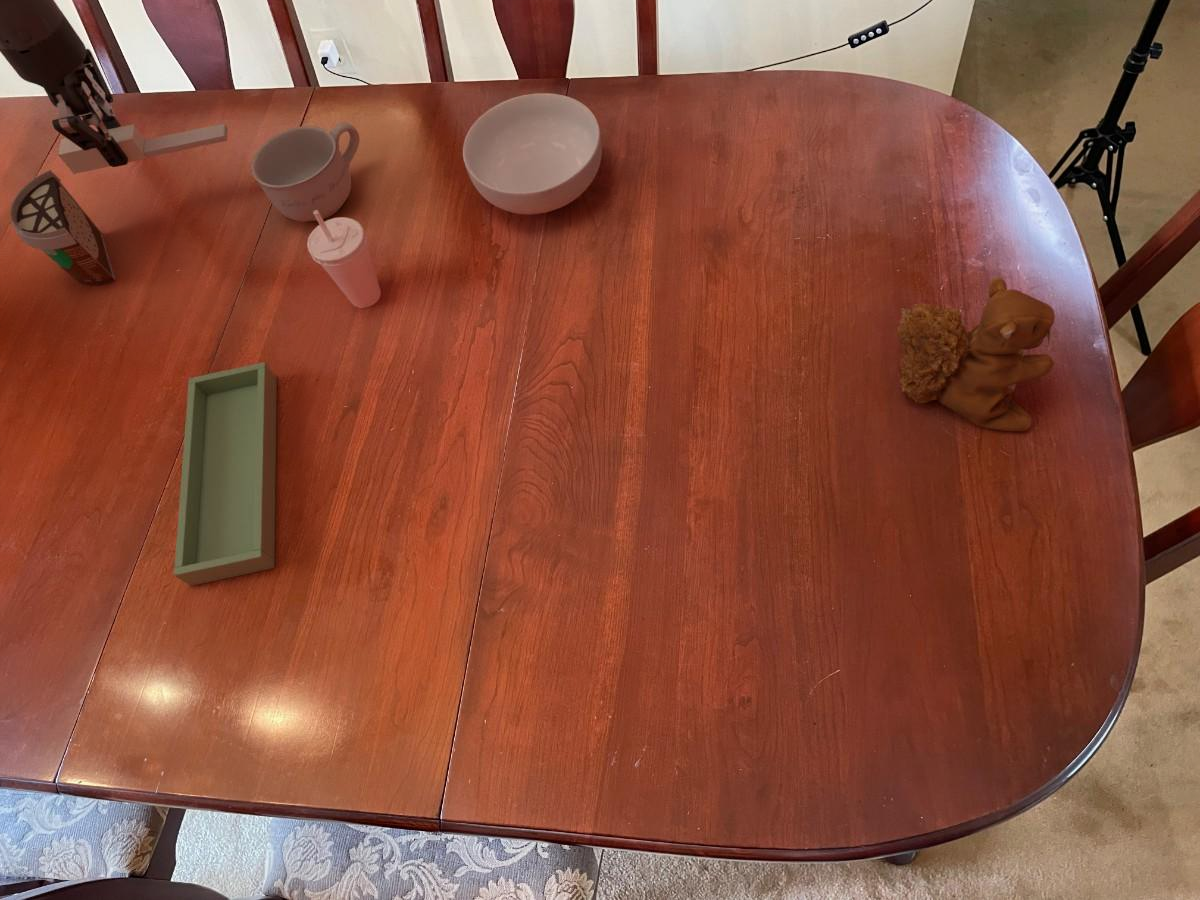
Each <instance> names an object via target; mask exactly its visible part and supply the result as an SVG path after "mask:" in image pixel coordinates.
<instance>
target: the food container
mask: <svg viewBox="0 0 1200 900" xmlns="http://www.w3.org/2000/svg"><path fill="white" fill-rule="evenodd" d="M11 203H12V204H11V207H10V211H9V212H10V220H11V224H12V226H13V228H14V230H15V231H16V232H15V233H17V235H18V237H19V238H20V239H21V241H22V242H23V243H24V244H25V245H26V246H29V247H31V248H34V249H37V250H41V251H42V252H43V253H44V254H45V255H46V256H48V257H49V258H50V259H51V260H52V261H53V262H54V263H55V264H57V265H58V266H59V267H60V268H61V269H62V270H63V271H65V272H66V273H67V274H68V275H69V276H70V277H71V278H73V280H75V281H76V282H77V283H79V284H82V285H85V286H102V285H106V284H109V283H112V282H115V281H116V278H115V274H114V270H113V267H112V263H111V260H110V256H109V253H108V249H107V245H106V241H105V238H104V235H103V232H102V231H101V230H100V229H99V228H98V226H97V225H96V224H95V223H94V221H93V220H92V219H91V218H90V217H89V215H88V214H87V213H86V211H84V209H83V208H82V207H81V206H80V204H79V203H78V202H77V201H76V199H75V197H73V195H71V193H70V192H69V190H68V189H67V188H66V187H65V185H64V184H63V183H62V182H61V178H60V177H58V176H57V174H55V172H53V171H52V170H51V169H48V170H47V171H44V172H43V173H41V174H39V175H38V176H36V177H34V178H33V179H31V180H30V181H29V182H28V183H26V184H25V185H24V186H23V188H21V189H20V191H18V193H17V194H16V195H15V197H14V199H13V201H12V202H11Z"/></svg>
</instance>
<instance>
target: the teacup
mask: <svg viewBox="0 0 1200 900" xmlns="http://www.w3.org/2000/svg"><path fill="white" fill-rule="evenodd" d="M345 132H347V133H348V134H349V141H348V144H347V146H346V149H345V150H344V152H343V153H342V152H341V151H340V137H341V135H342V134H344V133H345ZM359 145H360V134H359V131H358V130H357V127H355V126H354V125H352V124H351V123H349V122H347V121H346V122H345V121H341V122H338V123H336V124H335V125H334V126H333V127H332V128H331V130H330V132H329V131H328V130H326V128H325V129H324V128H322V127H320V126H319V127H318V126H314V125H303V126H297V127H292V128H288V129H286V130H283V131H281V132H278V133H277V134H275V135H273V136H272V137H270V138H269V139H268V140H266V141H265V142H264V143H263V144H262V145H261V146H260V147H259V148H258V149H257V151H255V154H254V155H253V158H252V160H251V164H250V169H251V174H252V177H253V179H254V180H255V181H256V182H257V184H259V186H260V187H261V189H262V190H263V192H264V194H265V195H266V196H267V198H268V200H269V202H271V204H272V205H273V207H274V208H275V209H276V210H277V211H278V212H279V213H280V214H281V215H283V216H285V217H286V218H288V219H290V220H293V221H297V222H318V221H317V219H316V217H315V215H314V213H313V212H314V211H315V210H318V211H319V213H320V215H321V217H322V219H323V220H324V219H327V218H329V217H331V216H332V215H334V214H336V213H337V212H338V211H339V210H340V209H341V208H342V206H343V205H344V203H345V202H346V200H347V199H348V197H349V195H350V192H351V188H352V177H351V173H350V170H349V169H350V165H351V162H352V160H353V158H354V157H355V155H356V153H357V151H358V149H359Z"/></svg>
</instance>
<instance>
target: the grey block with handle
mask: <svg viewBox="0 0 1200 900" xmlns="http://www.w3.org/2000/svg"><path fill="white" fill-rule="evenodd" d="M121 126H122V127H117V128H112V129H108V131H109V133H110V135H111V136H112V137H113V138H114V139H115V141H116V142H117V144H118V145H119V146H120V148H121V149H122V151H123V152H124V153H125V155H126V156H127V157H128V163H133V162H138V161H142V160H143V161H144V160H146V159H147V158H150V157H156V156H160V155H165V154H171V153H174V152H180V151H183V150H184V151H185V150H189V149H193V148H198V147H204V146H207V145H208V146H209V145H213V144H219V143H222V142H226V141H227V142H228V131H229V130H228V126H227V124H226V123H225V122H222V123H218V124H213V125H209V126H203V127H199V128H194V129H190V130H184V131H179V132H176V133H170V134H166V135H161V136H156V137H152V138H147V139H146V138H145V137H144V135H143V134H142V132H141V131H140V130H139V128H138V127H137V125H136V124H135V123H132V124H131V123H130V124H126V125H121ZM57 156H58V157H59V158H60V159H61V161H62V162H63V163H64V164H65V165H66V167H67V168H68V169H69V170H70V171H71V173H72V174H73V175H77V174H81V173H85V172H91V171H95V170H99V169H100V170H101V169H105V168H109V167H111V166H110V165H109V164H108V163H107V161H106V160H105V159H104V157H103V156H102V155H101V153H100V152H99V151H98V150H97V148H93V149H89V150H86V151H84V150H83V149H81V148H80V147H79V146H77V145H76V144H74V143H73V142H72V141H70V140H69V139H67V138H66V137H64V138H61V139H60V142H59V147H58V153H57ZM128 163H127V164H128Z"/></svg>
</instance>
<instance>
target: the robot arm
mask: <svg viewBox="0 0 1200 900" xmlns="http://www.w3.org/2000/svg"><path fill="white" fill-rule="evenodd" d="M0 54H1V55H2V56H3V57H4V58H5V60H6V61H7V63H8V64H9V65H10V66H11V67H12V69H13V70H14V71H15V72H16V74H17V75H18V77H20V78H21V79H22V80H23V81H26V82H28V83H31V84H34V85H37V86H39V87H41V88H43V89H44V92H46V95H47V97H48V99H49V101H50V102H51V105H53V106H54V107H55V108H57V114H58V118H56V119H52V121H51V124H52V126H53V128H54V130H55V131H56V132H58V133H59V134H60V135H62V136H63V137H64V138H67V139H69V140H70V141H72V142H73V143H74V144H76V145H77V146H79V147H80V148H81V149H83V150H84V151H86V150H89V149H93V148H97V150H98V151H99V152H100V153H101V155H102V156H103V157H104V159H105V160H106V161H107V163H108V164H109V165H110V167H112V168H118V167H122V166H127V165H128V157H127V156H126V155H125V153H124V152H123V151H122V149H121V148H120V146H119V145H118V144H117V142H116V141H115V139H114V138H113V137H112V136H111V135H110V133H109V131H108V129H112V128H117V127H122V126H123V125H121V123H120V122H119V121H118V119H117V118H116V112H115V110H114V108H113V107H112V105H111V104H110V103H114V97H113V95H112V92H111V91H110V89H109V86H108V84H107V81H106V79H105V78H104V76H103V74H102V71H101V69H100V68H99V65H98V63H97V61H96V58H95V57H94V55H93V53H92V51H91V49H90V48H86V45H85V43H84V42H83V40H82V39H81V37H80V36H79V34H78V33H77V32H76V30H75V29H74V27H73V25H72V24H71V23H70V22H69V20H68V19H67V17H66V16H65V14H64V12H62V10H61V8H60V7H59V6H58V4H57V3H56V1H55V0H0ZM92 126H94V127H95V128H96V129H97V130H95V129H94V127H92Z"/></svg>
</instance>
